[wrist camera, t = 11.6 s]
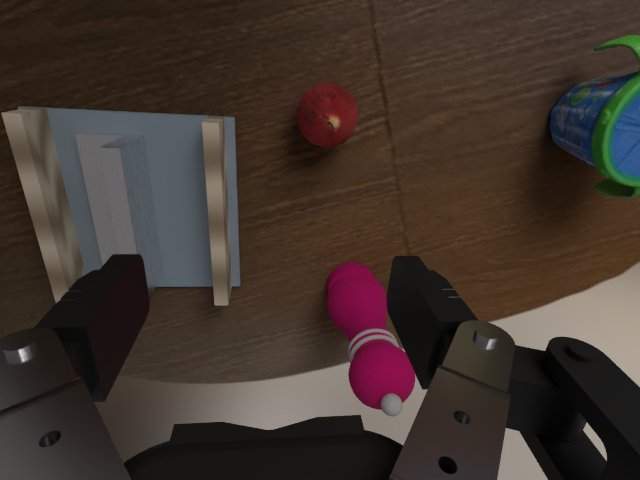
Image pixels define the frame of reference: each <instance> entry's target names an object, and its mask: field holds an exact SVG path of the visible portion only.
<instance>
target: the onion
mask: <svg viewBox="0 0 640 480" xmlns="http://www.w3.org/2000/svg"><path fill="white" fill-rule="evenodd" d="M357 118H358V110H357V106H356V103H355V99H354V98H353V97H352V96H351V95H350V93H349V92H348V91H347V90H346V89H345V88H343V87H341V86H339V85H337V84H331V83H322V84H319V85H316V86H313V87H311V88H310V89H309V90H308V91H307V92H306V93H305V94H304V95H302V97H301V100H300V102H299V104H298V107H297V124H298V126H299V128H300V130H301V132H302V134H303V136H305V137H306V138H307V139H308V140H309V141H310V142H311V143H312V144H315V145H318V146H320V147H329V148H334V147H336V146H338V145H341V144H343V143H344V142H345V141H346V140H347V139H348V138H349V137H350V136H351V135H352V134H353V131H354V129H355V127H356V125H357Z"/></svg>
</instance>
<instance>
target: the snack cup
mask: <svg viewBox="0 0 640 480" xmlns="http://www.w3.org/2000/svg"><path fill="white" fill-rule="evenodd" d="M617 46H626V47H628V48H630V49H631V50H632V52H633V53H634V54H635V56H636V57H637V58H638V60H639V62H640V36H638V35H629V36H625V37H621V38H618V39H615V40H612V41H610V42H607V43H604V44H602V45H600V46H597V47H595V48H594V51H598V50H603V49H607V48H614V47H617ZM550 115H551V120H550V124H549V125H550V131H551V135H552V138H553V141H554V142H555V143H556V144H557V145H558V146H559V147H560V148H562V149H563V150H564V151H566V152H568V153H570V154H571V155H573V156H575V157H577V158H579V159H580V160H583V161H585V162H587V163H588V164H589V165H591V166H593V167H595V168H596V169H598V171H599V172H600V174H601V175H602V176H604V177H605V178H608V179H607V180H603V181H601V182H599V183H597V184H596V185H595V187H594V188H595V190H596V191H598V192H599V193H601V194H604V195H607V196H611V197H615V198H623V199H629V198H633V197H637V196H640V69H639V71H638V72H635V73H631V74H628V75H621V76H613V77H606V78H599V79H593V80H588V81H585V82H581V83H579V84H576V85H575V86H574V87H573V88H571V89H570V90H569V91H567V92H566V93H565V94H564V95H563V96H562V97H561V98H560V100H559V101H558V103H557V105H556V106H555V107H554V108H553V109H552V112H551V114H550ZM631 186H634V187H631Z"/></svg>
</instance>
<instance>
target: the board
mask: <svg viewBox="0 0 640 480" xmlns="http://www.w3.org/2000/svg"><path fill="white" fill-rule="evenodd" d="M24 108H45V107H25V106H20V107H18V110H19V109H24ZM46 109H47V113H48V118H49V122H50V126H51V130H52V135H53V139H54V143H55V147H56V151H57V156H58V160H59V164H60V168H61V173H62V177H63V181H64V185H65V189H66V194H67V198H68V202H69V206H70V211H71V215H72V219H73V223H74V227H75V232H76V236H77V240H78V244H79V249H80V253H81V257H82V261H83V265H84V270H85V274H87V273H89V272H91V271H93V270H100V269H101V267H102V266H103V265H102V260H101V256H100V251H99V246H98V241H97V237H96V232H95V227H94V222H93V218H92V213H91V208H90V204H89V199H88V194H87V189H86V185H85V180H84V175H83V171H82V166H81V161H80V156H79V152H78V147H77V142H76V137H75V133H77V132H80V131H84V132H107V133H130V134H145V140H146V147H147V155H148V162H149V170H150V177H151V185H152V192H153V200H154V207H155V215H156V222H157V229H158V237H159V244H160V252H161V259H162V267H163V274H162V276H161V278H160V280H159V281H158V283H157V285H156V287H205V286H213V276H212V262H211V247H210V233H209V219H208V204H207V190H206V176H205V161H204V147H203V133H202V122H203V121H204V120H205V119H206V118H208V117H209V116H206V115H186V114H166V113H146V112H126V111H106V110H86V109H65V108H46ZM210 117H224V125H225V147H226V169H227V192H228V214H229V236H230V258H231V281H232V286H240V256H239V226H238V196H237V166H236V136H235V117H226V116H210Z"/></svg>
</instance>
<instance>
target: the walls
mask: <svg viewBox="0 0 640 480" xmlns="http://www.w3.org/2000/svg"><path fill="white" fill-rule="evenodd" d="M2 117H3V120H4V124H5V127H6V131H7V134H8V138H9V141H10V145H11V148H12V152H13V155H14V159H15V162H16V166H17V169H18V173H19V176H20V180H21V183H22V187H23V190H24V194H25V197H26V201H27V204H28V207H29V211H30V214H31V218H32V221H33V225H34V228H35V232H36V235H37V239H38V242H39V246H40V249H41V253H42V256H43V260H44V263H45V267H46V270H47V274H48V277H49V281H50V284H51V288H52V291H53V295H54V298H55V302H56V303H57V302H58V301H60V298H61V297H62V296H63V295H64V294H65V293H66V292H68V289H69V288H70V287H71V286H72V285H73V284H74V283H75V282H76V281H77V279H79V278H81V277H82V276H84V275H86V274H85V270H84V265H83V261H82V257H81V253H80V249H79V244H78V240H77V236H76V232H75V227H74V223H73V219H72V215H71V211H70V206H69V202H68V198H67V194H66V189H65V185H64V181H63V177H62V173H61V168H60V164H59V160H58V156H57V151H56V147H55V143H54V139H53V135H52V130H51V126H50V122H49V118H48V113H47V109H46V108H24V109H19V110H14V111H9V112H3V113H2ZM202 133H203V147H204V161H205V176H206V190H207V204H208V219H209V233H210V247H211V262H212V276H213V290H214V305H215V306H219V305H228V303H229V298H230V293H231V288H232V281H231V258H230V236H229V214H228V192H227V169H226V147H225V125H224V117H210V116H209V117H208V118H206V119H205V120H204V121H203V122H202Z"/></svg>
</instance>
